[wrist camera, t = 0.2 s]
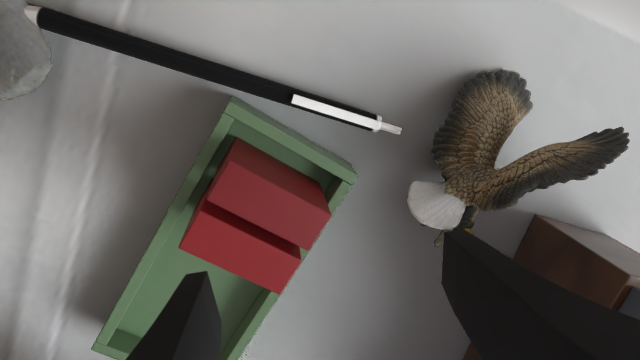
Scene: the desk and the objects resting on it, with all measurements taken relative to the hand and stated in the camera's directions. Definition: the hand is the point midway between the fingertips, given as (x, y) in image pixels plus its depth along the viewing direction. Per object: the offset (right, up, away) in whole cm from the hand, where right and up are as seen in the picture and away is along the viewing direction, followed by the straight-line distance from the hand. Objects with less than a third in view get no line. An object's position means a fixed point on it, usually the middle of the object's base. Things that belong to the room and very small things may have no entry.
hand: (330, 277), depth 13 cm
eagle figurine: (+8, +4, +11) cm, 14 cm away
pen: (-5, +8, +8) cm, 12 cm away
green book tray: (-6, -1, +11) cm, 12 cm away
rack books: (-4, +2, +9) cm, 10 cm away
